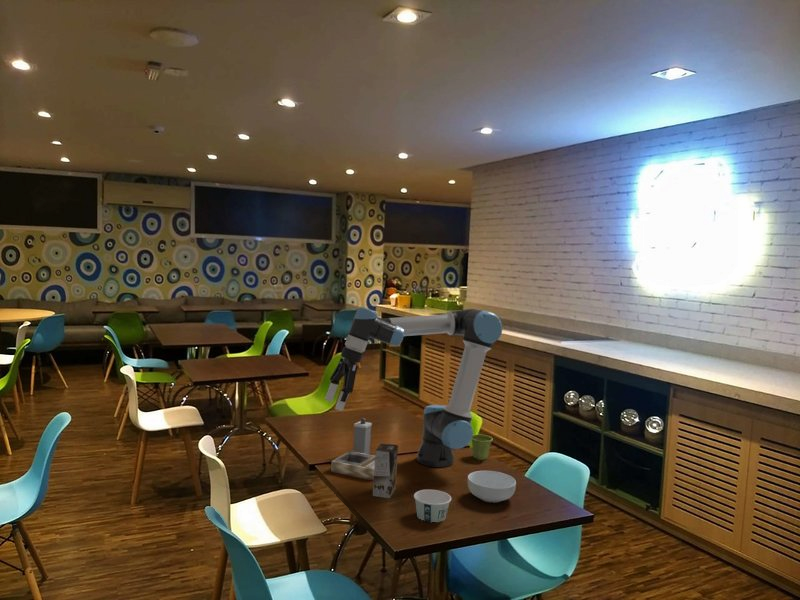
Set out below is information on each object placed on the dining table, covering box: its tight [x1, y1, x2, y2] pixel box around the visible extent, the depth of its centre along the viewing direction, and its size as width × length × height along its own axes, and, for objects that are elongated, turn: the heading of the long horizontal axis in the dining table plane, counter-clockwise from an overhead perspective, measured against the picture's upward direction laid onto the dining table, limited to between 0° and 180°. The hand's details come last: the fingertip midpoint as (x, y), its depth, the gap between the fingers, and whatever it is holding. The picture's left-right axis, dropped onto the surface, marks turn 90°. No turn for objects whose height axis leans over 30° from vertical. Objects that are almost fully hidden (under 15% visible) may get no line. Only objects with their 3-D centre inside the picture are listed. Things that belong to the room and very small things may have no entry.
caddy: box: [330, 450, 375, 482], centre depth 229 cm, size 18×15×4 cm
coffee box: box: [372, 443, 399, 499], centre depth 207 cm, size 9×6×16 cm
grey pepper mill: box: [352, 417, 373, 455], centre depth 244 cm, size 5×5×16 cm
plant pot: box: [470, 434, 494, 461], centre depth 252 cm, size 9×9×9 cm
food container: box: [413, 489, 452, 523], centre depth 190 cm, size 12×12×6 cm
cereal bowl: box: [467, 470, 517, 504], centre depth 208 cm, size 17×17×7 cm
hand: (333, 405), depth 213 cm, fingers open, 13 cm apart
